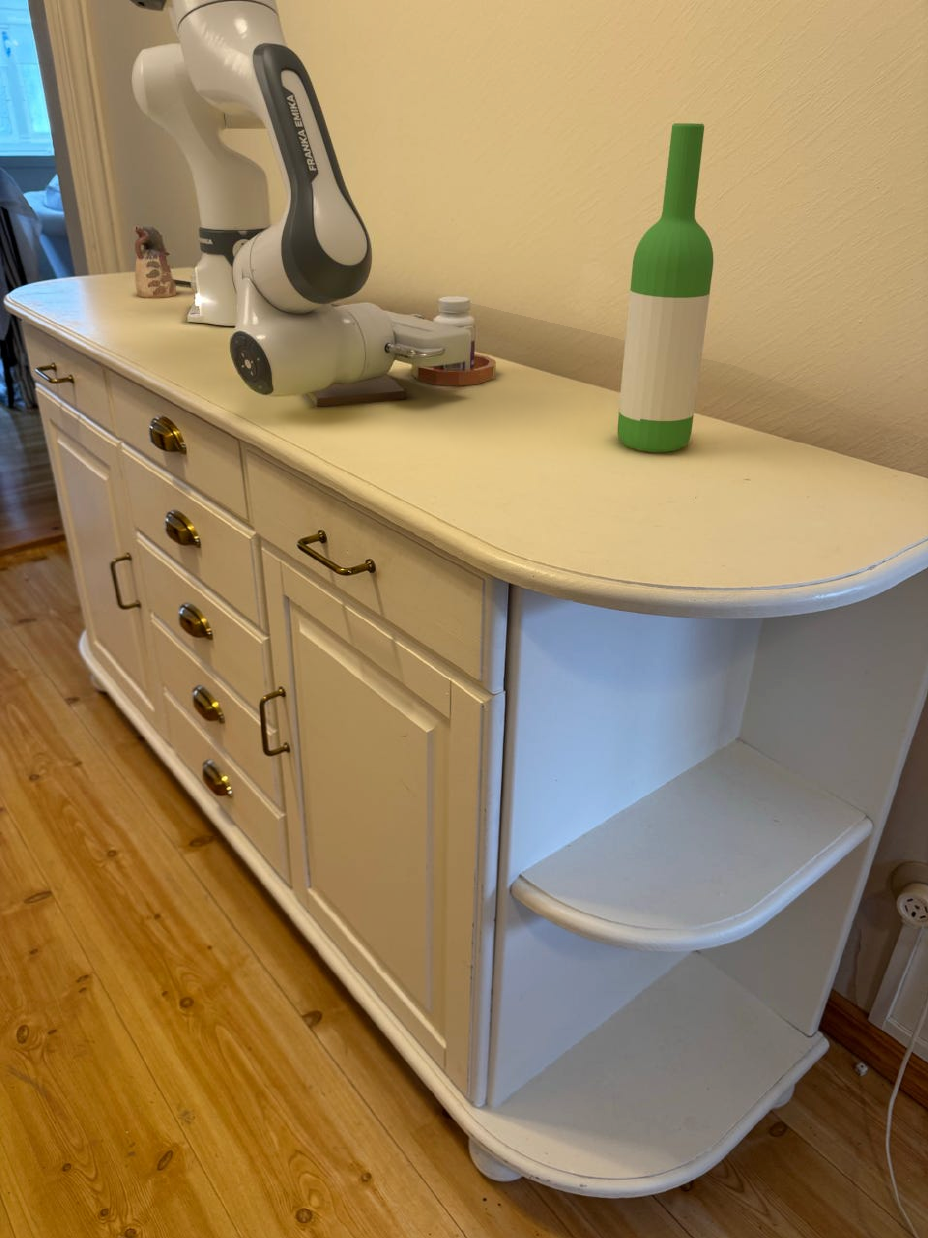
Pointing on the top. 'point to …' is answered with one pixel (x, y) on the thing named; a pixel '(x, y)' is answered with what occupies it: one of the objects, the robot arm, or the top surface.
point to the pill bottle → (456, 315)
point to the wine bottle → (667, 310)
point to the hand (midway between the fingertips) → (445, 326)
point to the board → (359, 392)
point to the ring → (458, 373)
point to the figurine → (152, 265)
